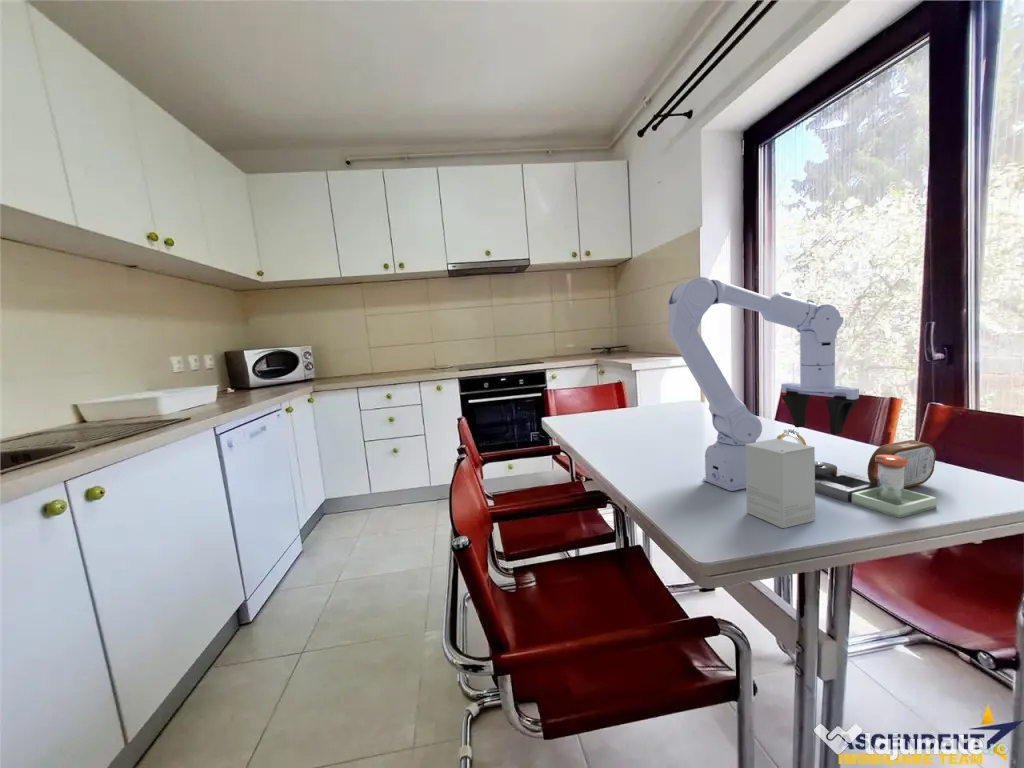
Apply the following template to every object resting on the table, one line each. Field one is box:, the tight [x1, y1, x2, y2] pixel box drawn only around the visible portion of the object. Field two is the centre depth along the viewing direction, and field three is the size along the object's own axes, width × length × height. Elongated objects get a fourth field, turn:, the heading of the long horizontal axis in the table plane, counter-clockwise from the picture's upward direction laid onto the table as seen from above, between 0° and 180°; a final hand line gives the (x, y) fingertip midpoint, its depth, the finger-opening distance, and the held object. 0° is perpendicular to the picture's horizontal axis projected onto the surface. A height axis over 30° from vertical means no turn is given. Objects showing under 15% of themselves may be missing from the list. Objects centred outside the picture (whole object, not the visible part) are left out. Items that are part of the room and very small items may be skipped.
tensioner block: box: [815, 460, 877, 503], centre depth 82 cm, size 10×12×4 cm
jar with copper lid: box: [875, 455, 908, 505], centre depth 72 cm, size 4×4×8 cm
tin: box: [867, 439, 937, 489], centre depth 78 cm, size 15×3×8 cm, turn 107°
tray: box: [851, 487, 938, 519], centre depth 72 cm, size 9×7×2 cm
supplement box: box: [745, 438, 816, 529], centre depth 71 cm, size 7×7×13 cm
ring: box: [775, 428, 807, 445], centre depth 98 cm, size 7×3×8 cm, turn 10°
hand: (817, 429), depth 86 cm, fingers open, 7 cm apart
